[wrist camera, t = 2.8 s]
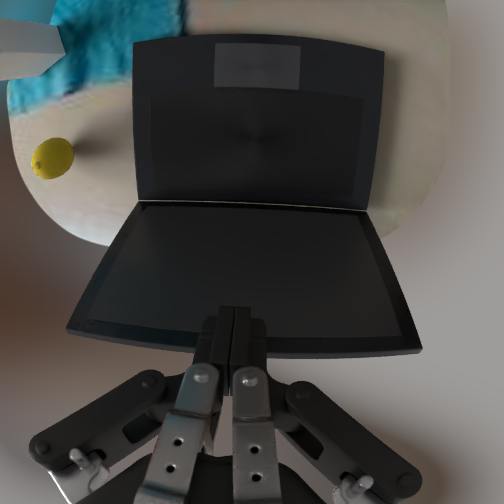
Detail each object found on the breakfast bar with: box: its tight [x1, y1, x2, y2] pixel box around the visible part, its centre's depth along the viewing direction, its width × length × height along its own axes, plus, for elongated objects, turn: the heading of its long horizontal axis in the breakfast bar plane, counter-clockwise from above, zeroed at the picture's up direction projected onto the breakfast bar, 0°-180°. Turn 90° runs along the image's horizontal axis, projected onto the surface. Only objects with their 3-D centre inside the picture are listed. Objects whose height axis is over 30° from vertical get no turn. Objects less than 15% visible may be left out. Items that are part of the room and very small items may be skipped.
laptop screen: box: [66, 201, 423, 359], centre depth 29 cm, size 21×30×1 cm
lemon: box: [32, 138, 74, 179], centre depth 32 cm, size 6×6×8 cm
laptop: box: [132, 34, 384, 210], centre depth 33 cm, size 21×30×2 cm
